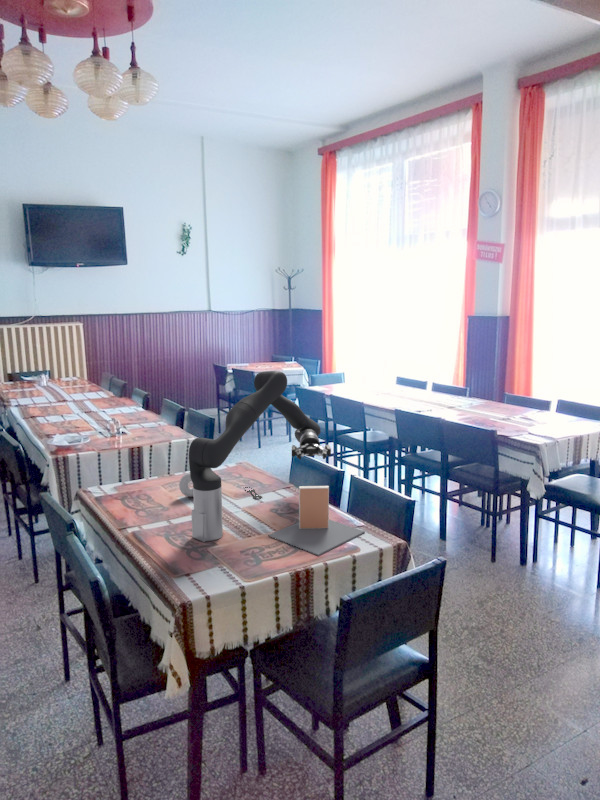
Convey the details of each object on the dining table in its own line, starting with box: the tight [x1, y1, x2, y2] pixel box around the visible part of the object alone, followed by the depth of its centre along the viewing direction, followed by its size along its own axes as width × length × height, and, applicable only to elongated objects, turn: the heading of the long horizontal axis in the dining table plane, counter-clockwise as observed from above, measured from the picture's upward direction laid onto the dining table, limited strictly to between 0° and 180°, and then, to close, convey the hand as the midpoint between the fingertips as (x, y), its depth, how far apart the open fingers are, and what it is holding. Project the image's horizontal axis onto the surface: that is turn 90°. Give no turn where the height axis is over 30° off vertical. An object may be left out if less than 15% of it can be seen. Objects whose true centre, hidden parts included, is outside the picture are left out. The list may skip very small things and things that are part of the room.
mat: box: [267, 519, 366, 557], centre depth 203 cm, size 24×22×1 cm
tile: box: [298, 485, 330, 529], centre depth 206 cm, size 2×10×14 cm, turn 92°
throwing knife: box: [245, 486, 263, 500], centre depth 245 cm, size 4×20×1 cm, turn 24°
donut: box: [178, 471, 193, 498], centre depth 239 cm, size 10×4×10 cm, turn 119°
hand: (312, 456), depth 214 cm, fingers open, 8 cm apart
